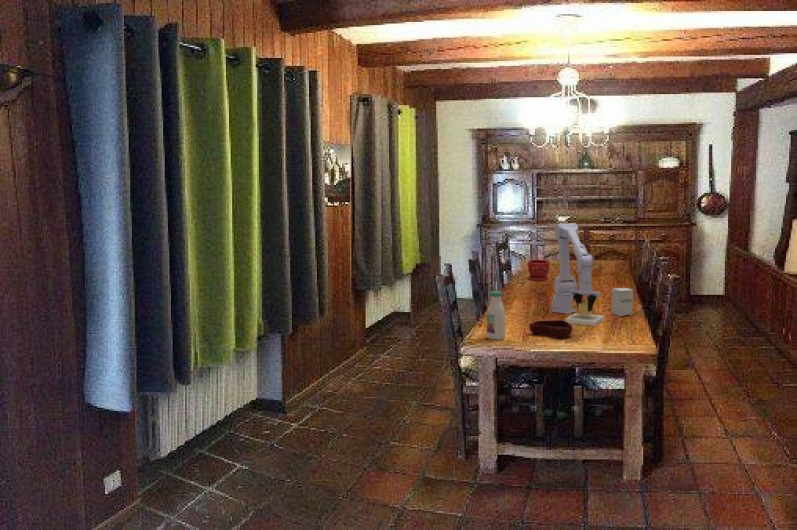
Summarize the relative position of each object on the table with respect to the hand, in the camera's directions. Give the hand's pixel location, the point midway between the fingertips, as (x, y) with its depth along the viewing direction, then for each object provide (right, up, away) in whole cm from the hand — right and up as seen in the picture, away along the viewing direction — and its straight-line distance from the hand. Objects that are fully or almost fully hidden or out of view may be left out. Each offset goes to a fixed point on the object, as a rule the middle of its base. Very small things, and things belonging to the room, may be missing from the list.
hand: (584, 310), depth 333 cm
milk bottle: (-45, -10, -26) cm, 52 cm away
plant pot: (+2, +12, +121) cm, 121 cm away
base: (0, -5, +1) cm, 5 cm away
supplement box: (+21, -3, +14) cm, 26 cm away
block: (0, -2, 0) cm, 2 cm away
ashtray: (-19, -9, -21) cm, 30 cm away
